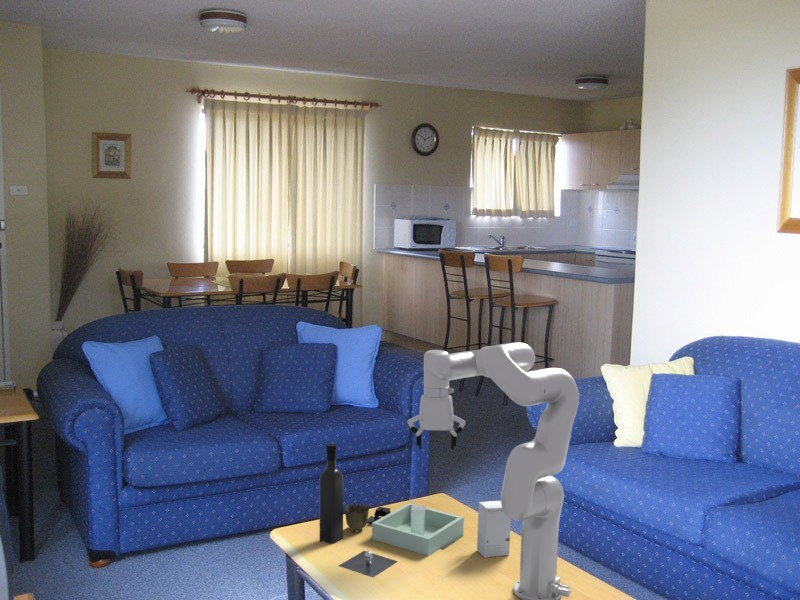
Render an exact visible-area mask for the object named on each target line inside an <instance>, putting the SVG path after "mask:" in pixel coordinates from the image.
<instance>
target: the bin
mask: <svg viewBox="0 0 800 600" xmlns="http://www.w3.org/2000/svg"><path fill="white" fill-rule="evenodd" d="M412 505H416V504H414V503H410V502H408V503H407V504H405V505H403V506H401V507H399V508H397V509H395V510H393V511H391V513H390V514H388V515H386V516H384V517H381V518H380V519H379V520H377V521H375V522H373V523H372V524H371V540H374V541H378V542H381V543H384V544H388V545H390V546H394V547H396V548H397V547H398V548H400V549H403V550H408V551H411V552H413V553H416V554H420V555H424V556H427V557H429V556H432V555H433V554H434V553H436V552H437V551H438V550H442V551H443V550H444V549H446V548H447V547H449V546H450V545H452V544H454V543H455V542H457V541H458V540H460V539H461V538H463V537H464V518H465V517H464V516H459V515H456V514H452V513H449V512H445V511H442V510H438V509H433V508H430V507H426V506H425V536H423V535H419V534H416V533H412V532H411V508H412Z"/></svg>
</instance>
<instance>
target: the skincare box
mask: <svg viewBox="0 0 800 600" xmlns="http://www.w3.org/2000/svg"><path fill="white" fill-rule="evenodd" d="M477 513H478V516H477V518H478V519H477V540H476V550H477V552H479V554H480V556H482V558H484V559H486V558H493V557H500V556H503V557H504V556H509V555H510V544H511V543H510V542H511V525H512V524H511V523H512V519H510V518H509V517H507V516H506V514H505V513H504V511H503V508H502V504H501V500H490V501H478V512H477Z"/></svg>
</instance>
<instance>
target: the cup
mask: <svg viewBox="0 0 800 600" xmlns="http://www.w3.org/2000/svg"><path fill="white" fill-rule="evenodd" d="M369 510H370V508H369V505H366V504H365V505H363V503H361V504H360V503H357V504H356V503H353V504H351V503H349V504H348V505H346V506H345V508H344V513H345V521H346V525H347V527H349V528H350V531H351V532H353V533H355V532H356V533H359V532H362V531H363V530H364V528H365V527H366V525H368V524H367V520H368V518H369Z"/></svg>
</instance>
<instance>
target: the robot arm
mask: <svg viewBox="0 0 800 600" xmlns="http://www.w3.org/2000/svg"><path fill="white" fill-rule="evenodd" d="M535 361H536V354H535V352H534V349H533V348H532V347H531V346H530V345H528V344H527V343H524V342H520V341H519V342H518V341H515V342H508V343H502V344H496V345H488V346H483V347H481V348H480V349H475V350H469V351H461V352H459V351H458V352H454V353H449V352H448V351H446V350H442V349H429V350H427V351H426V352H425V353H424V354H423V395H421V397H420V401H419V402H420V403H419V414H417V415H415V416H413V417H411V418H409V419H407V422H406V423H407V425H408V427H409V428H410V431H411V432H412V433H414V434H415V436H416V447H418V450H422V447H423V446H422V441H423V440H422V439H423V438H422V437H423V436H422V433H423V432H424V431H449V432H450V433H451V435H450V438H451V439H450V441H451V442H450V447H451V450H453V451H454V449H455V448H454V447H456V446H457V436H458V435H459V433H461V432H463V429H464V427H465V425H466V420H464V419H462V418H461V417H458V416H457V415H455V414H454V404H453V396H452V395H451V394H452V393H453V394H454V392H455V389H454V388H453V387H451V386H450V381H454V380H460V379H465V378H472V377H479V376H480V377H481V376H483V377H486V378H490V379H491V381H493V382H494V383H495V385H497V386H498V388H500V390H501V391H503V392H504V393H505V395H506V396H508V397H509V399H510V400H511V401H513V402H514V403H515V404H517V405H519V406H522V407H532V406H536V405H540V404H541V405H542V404H546V403H547V404H546V407H545V409H544V410H543V412H542V413H541V416H539V417H540V418H539V420H538V422H537V429H536V433H535V436H534V438H533V439H532V440H531V441H528V442H524V443H521V444H519V445H516V446H515V447H514V448H512V449H511V451H510V453H509V455H508V457H507V460H506V465H505V471H504V476H503V477H504V478H503V481H502V486H501V487H502V488H501V493H500V501H501V504H502V508H503V511H504V513H505V514H506V516H507V517H509V518H510V519H511V521H516V522H520V521H521V522H522V524H521V533H520V534H521V535H520V561H519V565H520V566H519V579H518V580H516V582H514V585H513V593H514V594H515V595H516V596H517V597H518V598H520V599H522V600H560V599H561V598H562V597H565V598H570V596H571V592H572V591H571V590H570V585H568V584H567V585H566V584H562V582H561V577H560V576H558V549H559V547H558V546H559V533H560V532H559V531H560V530H559V529H560V520H561V519H560V518H561V514H562V509H563V505H564V499H565V498H564V497H565V496H564V495H565V492H564V489H563V485H562V484H561V482H560V480H558V478H556V477H555V476H554V475H557V474H559V473H560V472H562V470H563V468H564V467H565V464H566V460H567V455H568V451H569V446H570V441H571V436H572V430H573V426H574V423H575V419H576V417H577V416H576V415H577V414H578V413H577V412H578V408H579V403H580V402H579V401H580V393H579V389H578V385H577V382H576V380H575V379H574V378H573V376H572V375H571V374H570V373H569V372H568V371H566V370H565V369H564V368H558V367H547V368H545V367H544V368H540V369H535V370H530V369H532V368H533V366H534V364H535ZM417 421H419V422H418V424H419V427H418V428H417V427H416V426H415V424H414V423H417ZM454 422H456V423H458V424H459V425H458V427H456V428H455V427H454Z"/></svg>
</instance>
